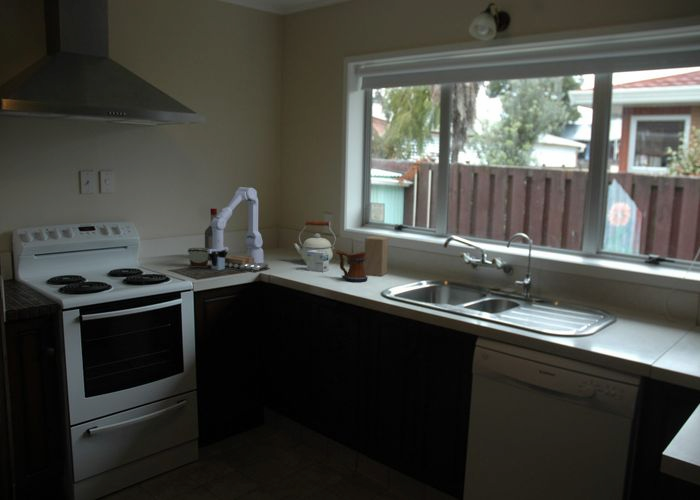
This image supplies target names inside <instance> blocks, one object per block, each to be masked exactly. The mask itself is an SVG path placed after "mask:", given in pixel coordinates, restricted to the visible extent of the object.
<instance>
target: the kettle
mask: <svg viewBox="0 0 700 500" xmlns="http://www.w3.org/2000/svg"><path fill="white" fill-rule="evenodd" d="M307 226H320V227H322V226H323V227H324V226H326V227H328V228H329V231H330V232H331V233H332V235H333V236H334V241H333V244H331V242H330V240H329V239H327V238H324V237H321V234H320V233H318V232H317V233H315V234H314V235H313V237H310V238H307V239H306V240H304V241H303V244H302V241H301V234H302V233H303V232H304V231H305V229H306V228H307ZM298 240H299V244H300V245H298V244H297V243H293V246H294V247H295V249H296V252H297V253H298V254H299V255H300V256H301V258H302V260H303V261H304V264H305V265H307V251H310V250H319V251H329V262H330V261H331V260H332V258H333V255H334V254H333V250H334V249H335V247H334V246H335V243H336V241H337V237H336V235H335V233H334V231H332V229H331V221H324V220H323V221H319V220H318V221H317V220H315V221H314V220H304V228H302V230H301V231H300V233H299V235H298Z"/></svg>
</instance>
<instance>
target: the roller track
mask: <svg viewBox="0 0 700 500" xmlns="http://www.w3.org/2000/svg"><path fill="white" fill-rule="evenodd" d="M225 269H227V270H228V269H229V270H234V271H242V272H247V273H248V272H249V273H254V274H255V273H259V272H263V271H267V270H270V269H271V268H270V267H269V264H268V262H267V263H265V262H264V263H256V262H252V263H248V264H243V265H241V264H234V263H227V262H225Z"/></svg>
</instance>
